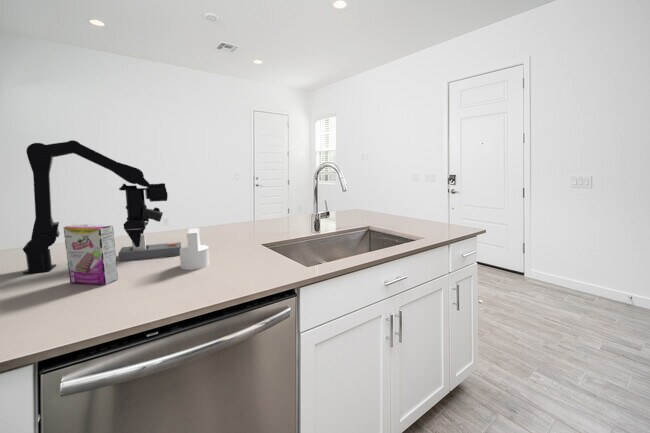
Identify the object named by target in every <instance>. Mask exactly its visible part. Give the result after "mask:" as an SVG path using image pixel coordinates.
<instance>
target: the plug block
mask: <svg viewBox="0 0 650 433" xmlns="http://www.w3.org/2000/svg"><path fill="white" fill-rule="evenodd" d="M146 245H147V241H146V233H143V234H141V239H140V246H139V247H136V246H135V245H134V243H133V242H132V241H131V246H132V248H133V250H145V249H146Z"/></svg>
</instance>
